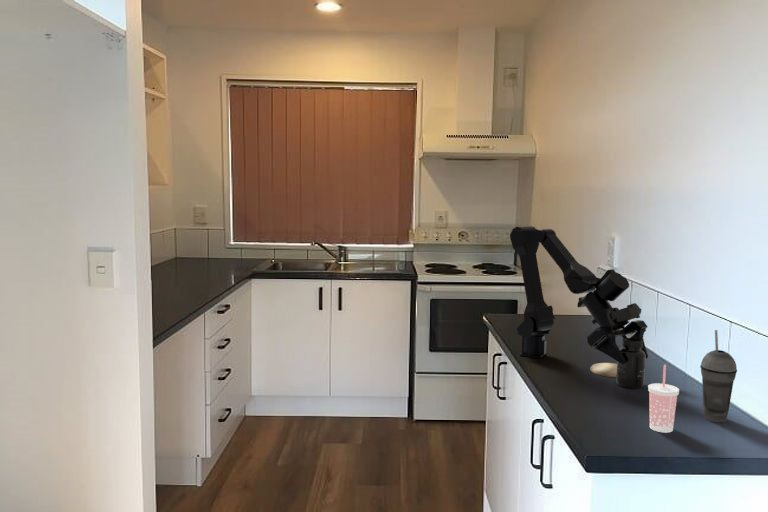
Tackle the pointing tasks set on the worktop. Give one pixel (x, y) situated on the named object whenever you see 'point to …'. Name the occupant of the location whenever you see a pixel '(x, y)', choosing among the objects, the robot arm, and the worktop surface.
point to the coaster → (605, 369)
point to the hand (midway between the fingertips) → (635, 360)
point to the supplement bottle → (631, 364)
